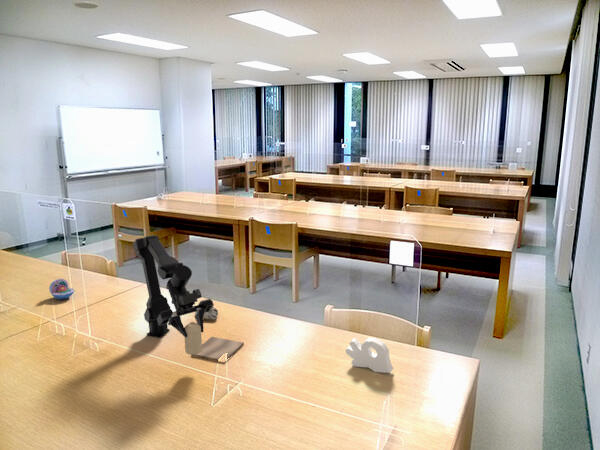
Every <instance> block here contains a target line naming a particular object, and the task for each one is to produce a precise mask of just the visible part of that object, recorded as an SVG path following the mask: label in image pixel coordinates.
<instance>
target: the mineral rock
mask: <svg viewBox="0 0 600 450" xmlns="http://www.w3.org/2000/svg"><path fill="white" fill-rule="evenodd" d="M197 305H199V303H198V304H197ZM218 314H219V310H218V309H217V308H216V307H214V306H213V307H212V308H211V310H210V311H209V312H206V313H204V315H203V319H209V320H216V319H218Z"/></svg>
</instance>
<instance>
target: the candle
mask: <svg viewBox="0 0 600 450" xmlns="http://www.w3.org/2000/svg"><path fill="white" fill-rule="evenodd" d="M184 329H185V331H186V334H187V337H186V338H185V337H184V349H185V353H186V354H187V355H189V356H191V355H194V354H198V353H200V352H201V351H202V344H203V343H202V342H203V341H202V332H201V326H200V325H199V324H197V322H195V321H191V322H189V323H187V324H186V325H185V326H184Z"/></svg>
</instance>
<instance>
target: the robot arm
mask: <svg viewBox="0 0 600 450" xmlns="http://www.w3.org/2000/svg"><path fill="white" fill-rule="evenodd" d="M132 247H133V248H132V249H133V250H134V252H135V255H136V256H137V257H138V258H139V259H140V260H141V263H142V268H143V274H144V279H145V283H146V287H147V289H146V290H147V293H148V298H147V302H146V303H145V306H146V309H145V311H144V313H143V317H144V320H145V321H146V323H148V329H149V331H148V333H146V336H150V337H155V338H161V337H164V335H165V334H168V333H169V332H170V329H169V328H168V326H172V328H174V329H175V330H176V331H178V332H179V333H180V334H181V335H182V336H183V337H184V339H185V338H186V337H187V334H186V331H185V329H184V327H185V326H184V325H183V322H182V318H181V316H185V315H188V314H189V315H190V314H192V313H195V316H194V319H195V321H196V323H197V324H199V325H200V326H201V333H204V318H203V315H204V313H206V312H209V311H210V310H211V308H212V307H214V306H215V303H214V302H213V300H212V299H211V298H208V299H204V300H200V301H199V300H198V299H201V298H202V292H201V290H200V289H199V288H195V289H193V290H192V292H191V293H190V291H189V290H187V288H186V286H187V284H188V283H189V281H190V279H191V277H192V275H193V271H192V270H191V268H189V266H187V265H184V263H183V262H179V260H178V259H176V258H175V257H173V256H171V255H169V253H168V251H166V249H165V247H164V246H163V244H162V243H161V241H160V238H159V236H158V235H156V234H153V235H147V236H144V237H139V238H135V240H134V241H133V242H132ZM156 264H157V265H156ZM158 276H159V277H160V278H161V279H162V280H168V281H167V283H166V290H168V293H169V295H170V298H171V304H172V305H173V306H174V308H175V311H173V310H172V309H171V306H170V304H169V302H168V298H167V297H165V296H164V295H163V294H162V292H161V290H162V289H161V286H160V280H159V277H158ZM198 301H199V303H198V304H199V305H198V304H197V305H195V304H196V303H197V302H198Z"/></svg>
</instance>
